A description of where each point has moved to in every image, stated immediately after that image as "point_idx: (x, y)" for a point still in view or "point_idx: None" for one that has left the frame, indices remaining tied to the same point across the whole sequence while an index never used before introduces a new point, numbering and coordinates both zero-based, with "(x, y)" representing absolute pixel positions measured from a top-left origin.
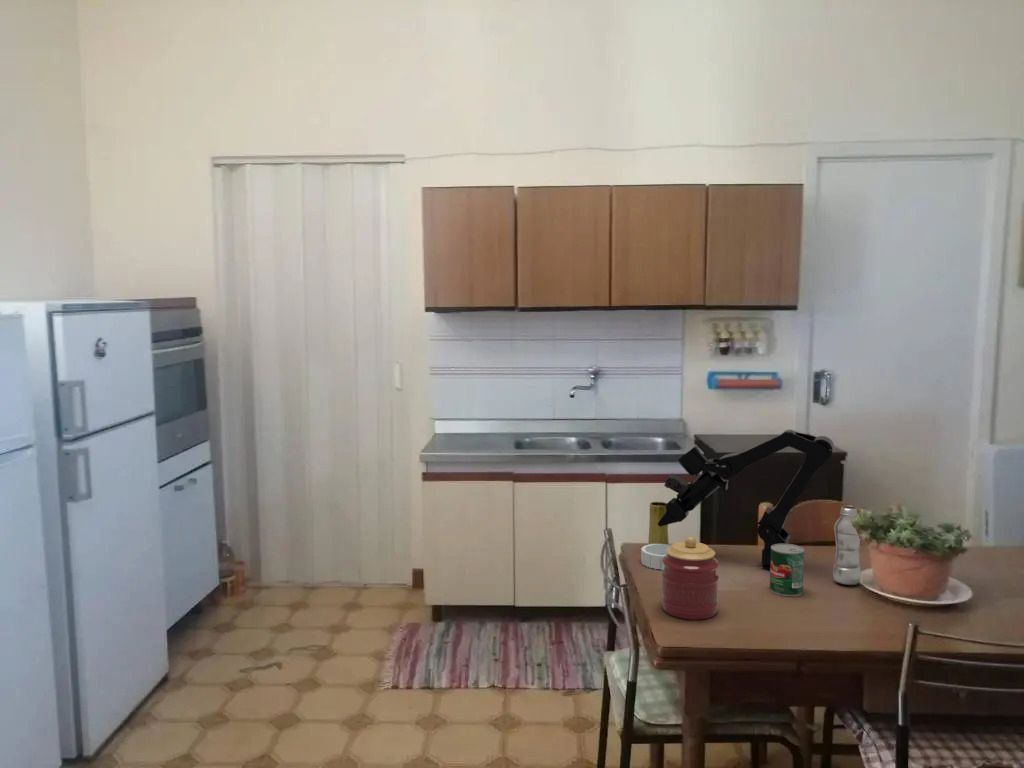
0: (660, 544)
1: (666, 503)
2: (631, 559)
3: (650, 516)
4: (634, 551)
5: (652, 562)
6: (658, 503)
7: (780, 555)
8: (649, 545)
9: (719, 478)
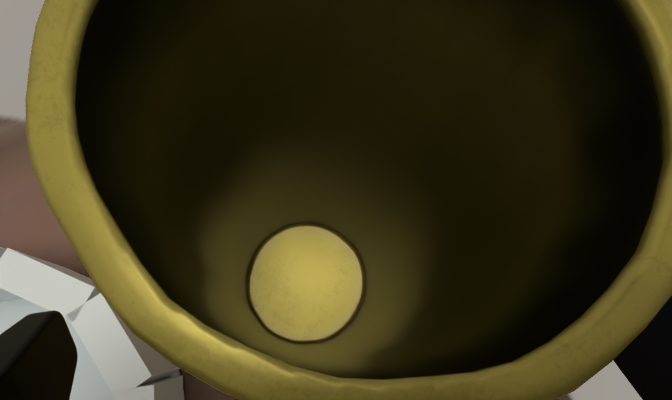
0: (116, 374)
1: (631, 281)
2: (20, 191)
3: (231, 89)
4: None
5: None
6: (587, 6)
7: None
8: (31, 287)
9: None
